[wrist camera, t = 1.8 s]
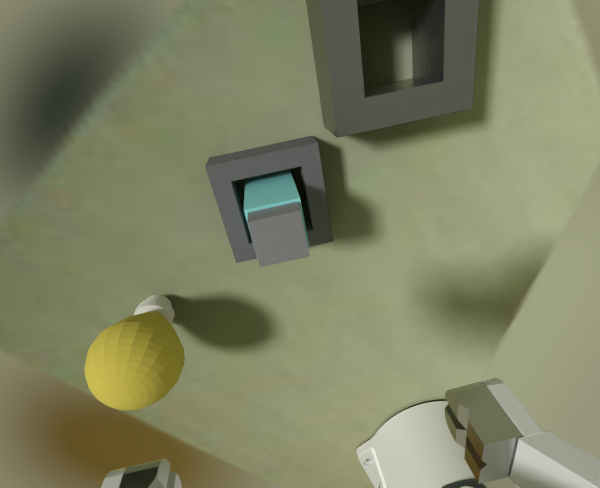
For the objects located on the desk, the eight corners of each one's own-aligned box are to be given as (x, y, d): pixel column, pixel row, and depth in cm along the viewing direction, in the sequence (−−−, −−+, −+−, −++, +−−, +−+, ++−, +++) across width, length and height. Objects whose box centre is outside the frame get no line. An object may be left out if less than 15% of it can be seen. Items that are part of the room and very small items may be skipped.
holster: (327, 228, 30) (333, 241, 28) (237, 248, 30) (236, 262, 27) (312, 135, 26) (317, 142, 24) (209, 157, 26) (205, 166, 24)
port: (438, 101, 26) (474, 108, 22) (324, 126, 26) (337, 138, 22) (441, -49, 22) (485, -75, 18) (303, -21, 21) (315, -41, 17)
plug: (297, 210, 29) (313, 257, 22) (256, 219, 29) (257, 270, 22) (289, 169, 27) (303, 206, 20) (245, 179, 27) (243, 219, 20)
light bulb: (119, 329, 32) (69, 430, 23) (119, 269, 29) (62, 358, 20) (192, 335, 34) (172, 432, 25) (199, 279, 31) (179, 366, 22)
